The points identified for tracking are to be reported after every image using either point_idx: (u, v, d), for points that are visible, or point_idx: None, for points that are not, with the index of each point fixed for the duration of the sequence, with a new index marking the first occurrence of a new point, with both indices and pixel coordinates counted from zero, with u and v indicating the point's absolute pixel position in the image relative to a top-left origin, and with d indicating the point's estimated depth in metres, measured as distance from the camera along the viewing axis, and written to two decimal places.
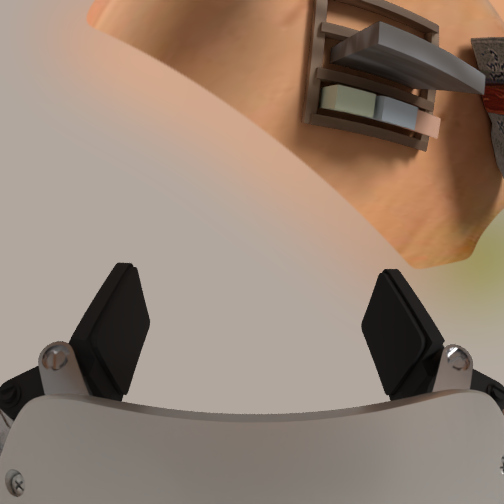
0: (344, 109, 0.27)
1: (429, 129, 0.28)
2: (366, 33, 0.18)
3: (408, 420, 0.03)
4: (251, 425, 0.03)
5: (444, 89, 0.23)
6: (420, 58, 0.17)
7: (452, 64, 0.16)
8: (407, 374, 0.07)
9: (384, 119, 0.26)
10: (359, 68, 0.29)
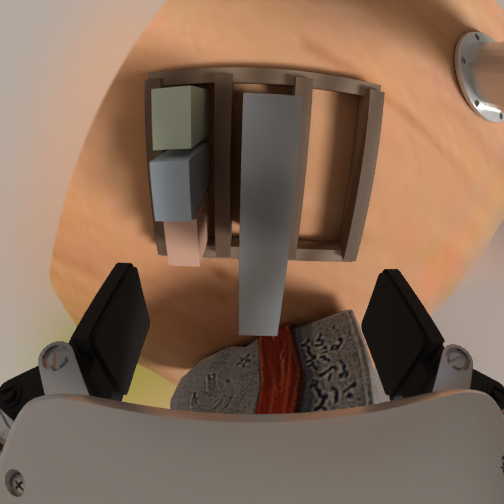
0: (153, 103, 0.17)
1: (175, 250, 0.25)
2: None
3: (408, 420, 0.03)
4: (251, 425, 0.03)
5: None
6: (244, 190, 0.13)
7: (264, 267, 0.15)
8: (407, 374, 0.07)
9: (151, 166, 0.19)
10: None
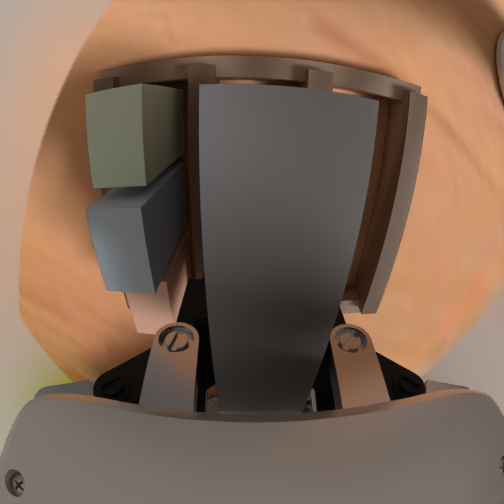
0: (88, 116, 0.10)
1: (143, 316, 0.17)
2: None
3: (409, 419, 0.03)
4: (251, 425, 0.03)
5: None
6: (218, 334, 0.05)
7: None
8: None
9: (89, 216, 0.12)
10: None
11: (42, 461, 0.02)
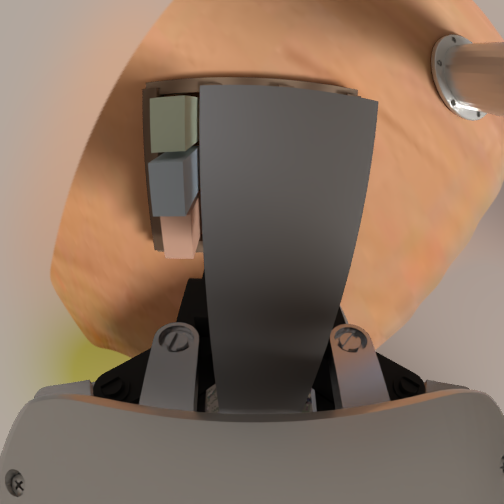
0: (152, 111, 0.20)
1: (171, 243, 0.27)
2: None
3: (408, 420, 0.03)
4: (251, 425, 0.03)
5: None
6: (218, 333, 0.05)
7: None
8: None
9: (150, 167, 0.21)
10: None
11: (42, 461, 0.02)
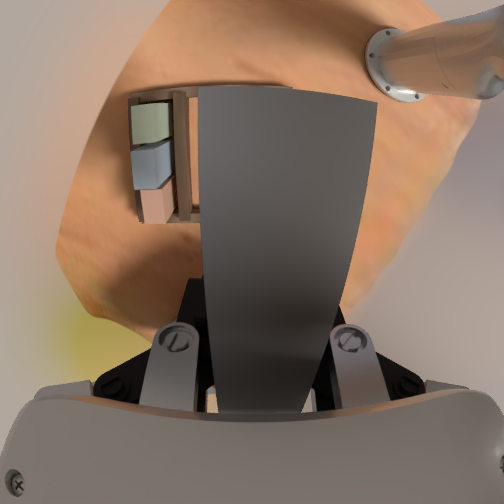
0: (132, 115, 0.27)
1: (149, 212, 0.35)
2: None
3: (408, 420, 0.03)
4: (251, 425, 0.03)
5: None
6: (217, 334, 0.05)
7: None
8: None
9: (131, 154, 0.29)
10: None
11: (42, 461, 0.02)
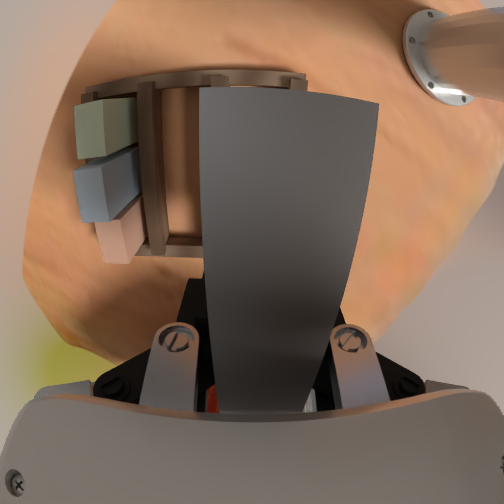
0: (76, 118, 0.17)
1: (107, 248, 0.25)
2: None
3: (409, 420, 0.03)
4: (251, 425, 0.03)
5: None
6: (218, 335, 0.05)
7: None
8: None
9: (74, 174, 0.19)
10: None
11: (42, 461, 0.02)
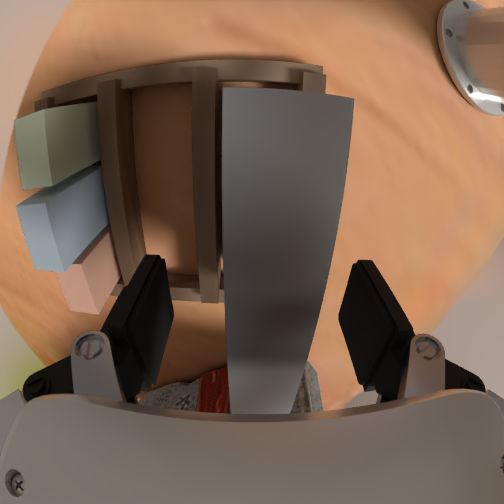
0: (16, 136, 0.11)
1: (71, 295, 0.19)
2: None
3: (409, 420, 0.03)
4: (251, 425, 0.03)
5: None
6: (231, 287, 0.07)
7: (266, 382, 0.09)
8: (378, 363, 0.08)
9: (18, 211, 0.13)
10: None
11: (42, 461, 0.02)
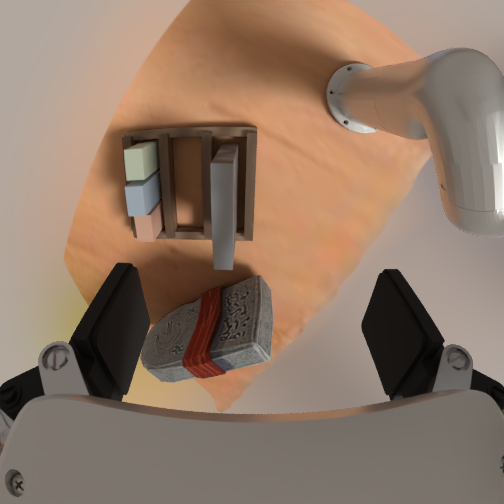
0: (125, 157, 0.36)
1: (141, 232, 0.44)
2: (228, 158, 0.32)
3: (409, 420, 0.03)
4: (251, 425, 0.03)
5: None
6: (212, 201, 0.32)
7: (222, 233, 0.34)
8: (407, 374, 0.07)
9: (125, 189, 0.38)
10: None
11: (42, 461, 0.02)
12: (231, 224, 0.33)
